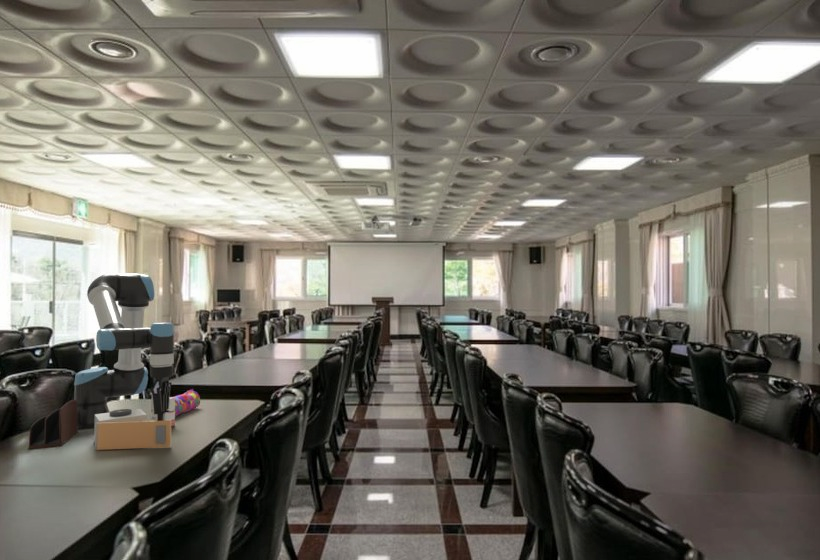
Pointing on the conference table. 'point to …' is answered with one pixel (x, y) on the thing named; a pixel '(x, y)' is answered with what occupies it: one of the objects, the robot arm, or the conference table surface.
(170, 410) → the ink cartridge box
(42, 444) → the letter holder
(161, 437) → the side door
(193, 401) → the pencil case
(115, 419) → the camera housing
